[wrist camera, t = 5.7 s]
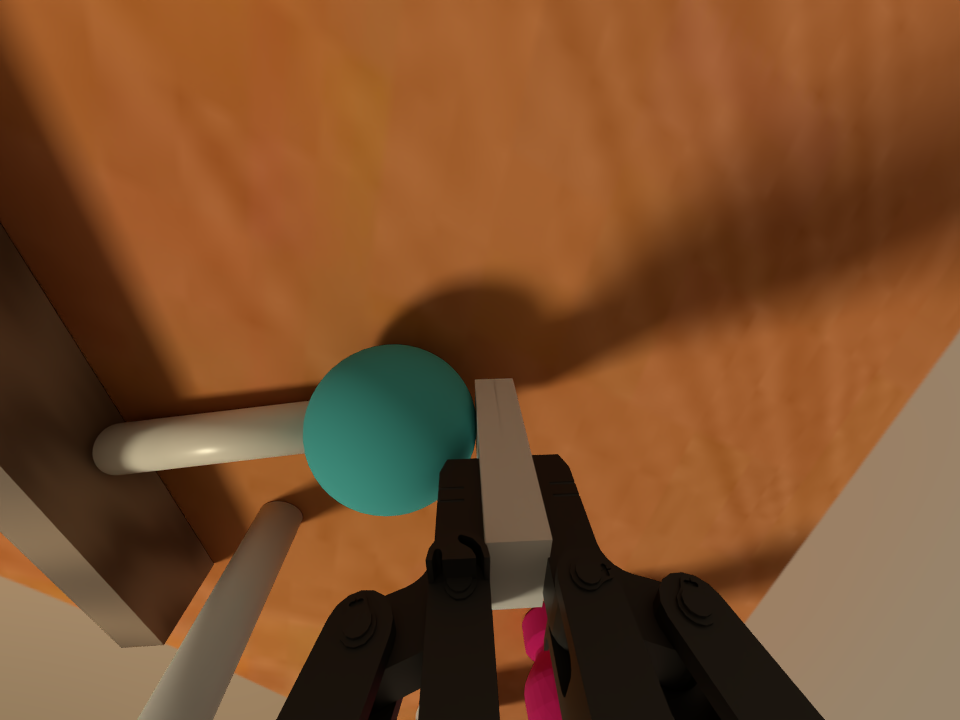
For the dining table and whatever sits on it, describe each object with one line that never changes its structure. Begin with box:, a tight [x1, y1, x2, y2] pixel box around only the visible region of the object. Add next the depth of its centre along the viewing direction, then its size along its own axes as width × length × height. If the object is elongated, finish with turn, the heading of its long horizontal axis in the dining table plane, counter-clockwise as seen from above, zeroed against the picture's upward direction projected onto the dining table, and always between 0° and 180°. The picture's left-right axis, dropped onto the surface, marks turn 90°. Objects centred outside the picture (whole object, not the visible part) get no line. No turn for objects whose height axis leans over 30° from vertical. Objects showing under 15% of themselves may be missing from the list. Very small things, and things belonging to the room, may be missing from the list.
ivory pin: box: [92, 401, 309, 475], centre depth 15 cm, size 2×2×9 cm
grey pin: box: [137, 501, 303, 720], centre depth 15 cm, size 2×2×9 cm
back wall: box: [0, 224, 214, 648], centre depth 13 cm, size 24×2×4 cm, turn 0°
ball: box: [303, 344, 477, 516], centre depth 13 cm, size 6×6×6 cm
